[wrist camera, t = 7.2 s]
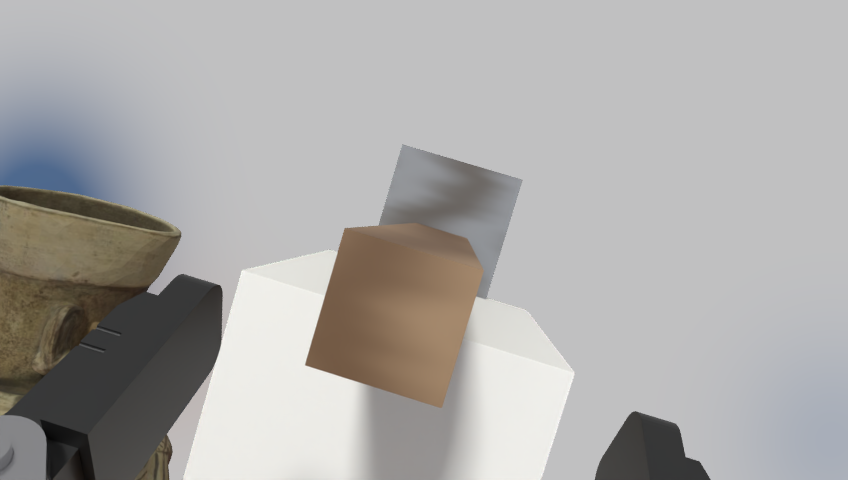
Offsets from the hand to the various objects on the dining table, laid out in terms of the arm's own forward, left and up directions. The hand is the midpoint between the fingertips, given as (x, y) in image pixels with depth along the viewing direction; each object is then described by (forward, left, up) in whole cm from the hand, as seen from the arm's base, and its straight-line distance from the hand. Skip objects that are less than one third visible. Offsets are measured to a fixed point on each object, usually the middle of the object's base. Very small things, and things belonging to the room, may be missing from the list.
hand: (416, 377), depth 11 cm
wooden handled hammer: (-1, +15, -1) cm, 15 cm away
